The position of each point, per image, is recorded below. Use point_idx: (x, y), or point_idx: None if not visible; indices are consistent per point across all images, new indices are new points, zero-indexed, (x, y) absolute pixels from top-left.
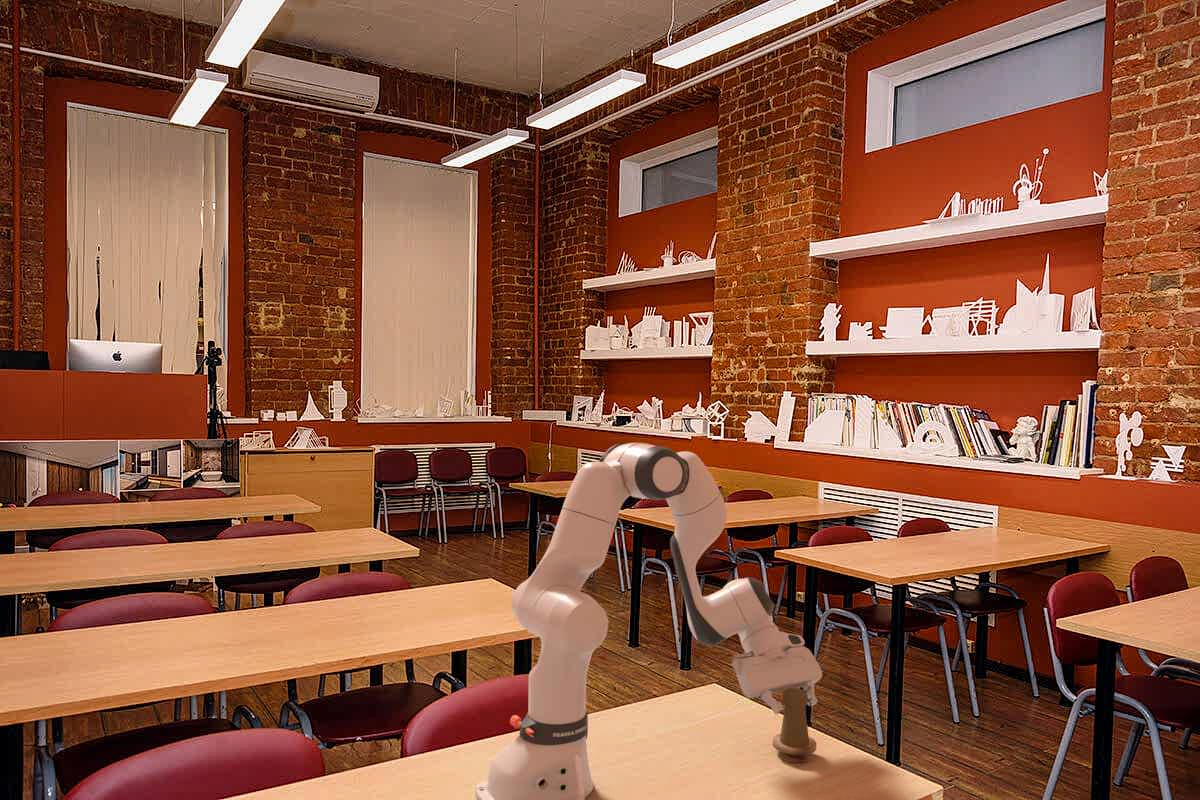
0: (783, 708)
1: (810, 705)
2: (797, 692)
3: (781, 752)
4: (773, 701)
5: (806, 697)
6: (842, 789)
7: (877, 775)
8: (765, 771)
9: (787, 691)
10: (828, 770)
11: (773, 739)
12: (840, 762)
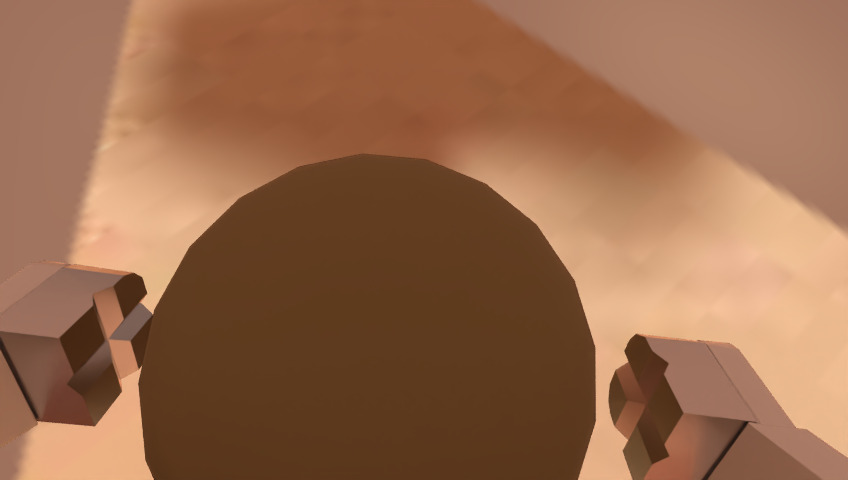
0: (645, 336)
1: (145, 320)
2: (436, 248)
3: None
4: (834, 452)
5: (321, 162)
6: (486, 15)
7: (252, 3)
8: (654, 324)
9: (542, 449)
10: (386, 152)
11: None
12: (263, 171)
